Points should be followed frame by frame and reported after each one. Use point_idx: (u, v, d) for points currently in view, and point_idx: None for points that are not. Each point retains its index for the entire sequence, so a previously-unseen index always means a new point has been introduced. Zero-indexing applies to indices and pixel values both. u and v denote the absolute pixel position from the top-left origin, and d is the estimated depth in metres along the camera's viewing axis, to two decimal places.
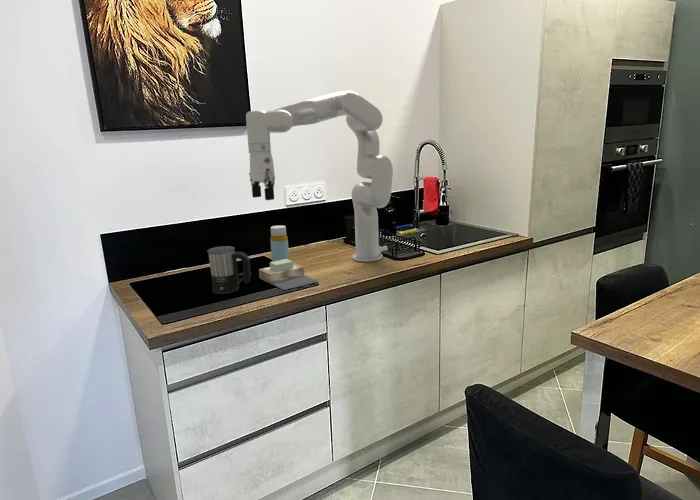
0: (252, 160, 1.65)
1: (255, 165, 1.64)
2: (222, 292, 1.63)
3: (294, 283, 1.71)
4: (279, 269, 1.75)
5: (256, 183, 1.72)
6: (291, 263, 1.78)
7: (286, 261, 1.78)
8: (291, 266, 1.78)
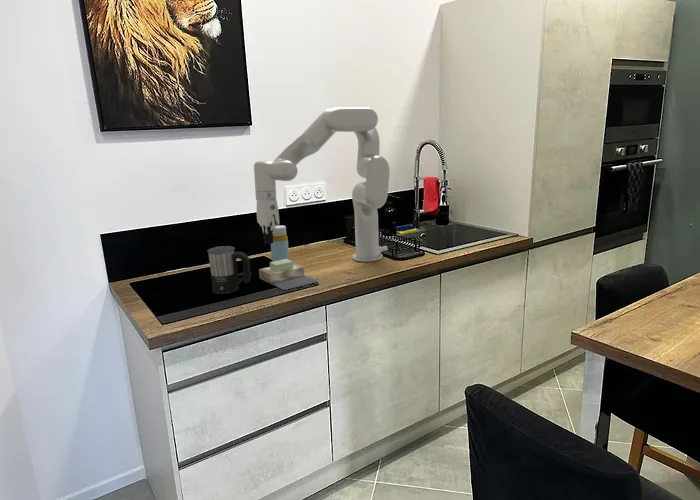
0: (259, 206, 1.79)
1: (261, 211, 1.77)
2: (222, 292, 1.64)
3: (294, 283, 1.71)
4: (279, 269, 1.75)
5: None
6: (291, 263, 1.78)
7: (286, 261, 1.78)
8: (291, 266, 1.78)
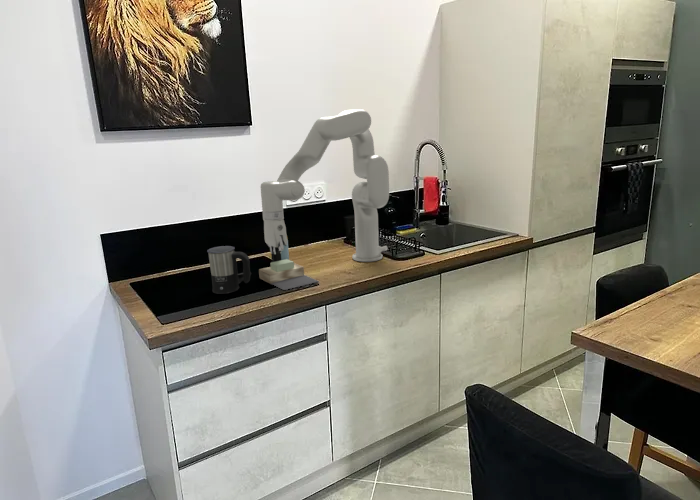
0: (266, 226, 1.77)
1: (269, 231, 1.76)
2: (222, 292, 1.64)
3: (294, 283, 1.71)
4: (279, 270, 1.75)
5: None
6: (292, 263, 1.77)
7: (287, 261, 1.78)
8: (292, 266, 1.78)
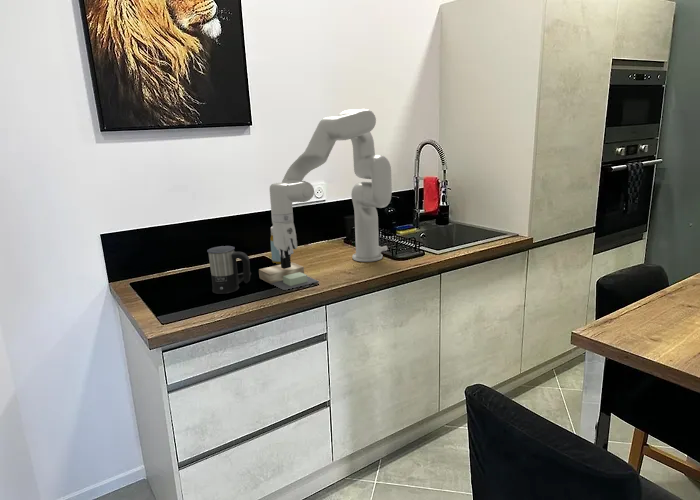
0: (275, 229, 1.72)
1: (278, 234, 1.70)
2: (222, 292, 1.64)
3: None
4: None
5: None
6: None
7: None
8: None
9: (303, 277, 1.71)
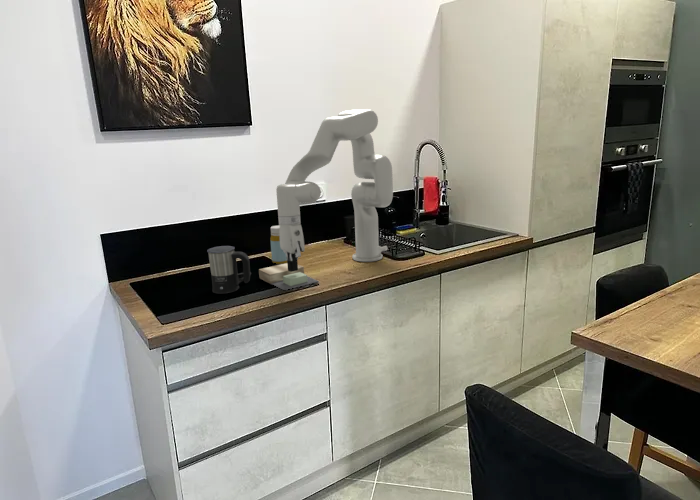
0: (282, 231, 1.68)
1: (285, 237, 1.66)
2: (222, 292, 1.64)
3: None
4: None
5: None
6: None
7: None
8: None
9: (303, 277, 1.71)
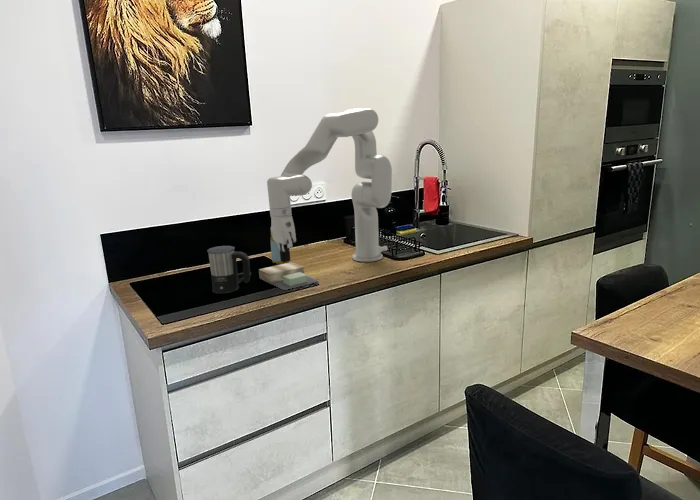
0: (274, 223, 1.72)
1: (277, 228, 1.71)
2: (222, 292, 1.64)
3: None
4: None
5: None
6: None
7: None
8: None
9: (303, 277, 1.71)
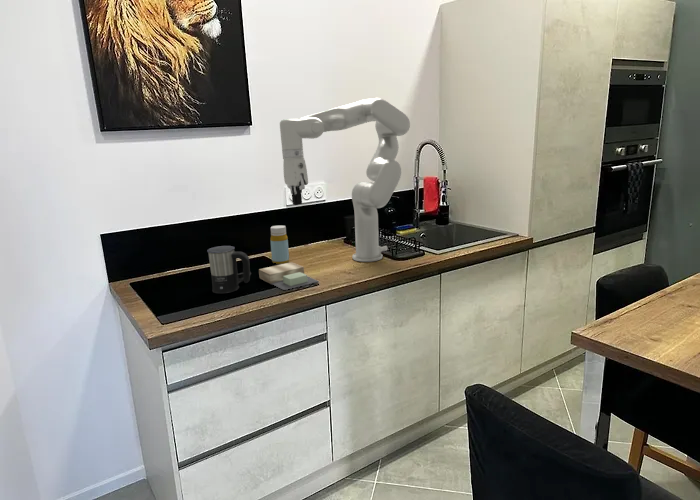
0: (286, 165, 1.75)
1: (289, 170, 1.74)
2: (222, 292, 1.64)
3: None
4: None
5: None
6: None
7: None
8: None
9: (303, 277, 1.71)
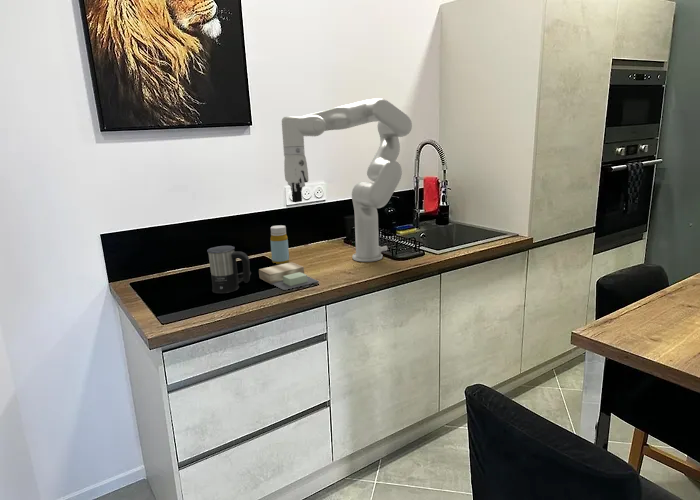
0: (287, 162, 1.76)
1: (290, 167, 1.74)
2: (222, 292, 1.64)
3: None
4: None
5: None
6: None
7: None
8: None
9: (303, 277, 1.71)
